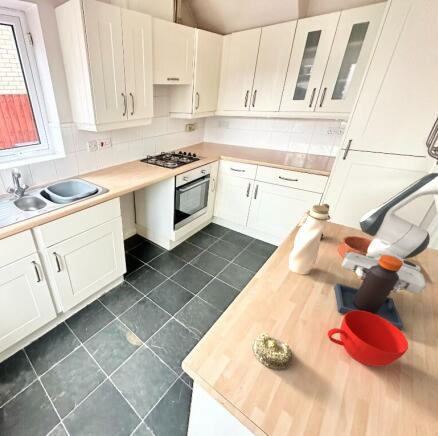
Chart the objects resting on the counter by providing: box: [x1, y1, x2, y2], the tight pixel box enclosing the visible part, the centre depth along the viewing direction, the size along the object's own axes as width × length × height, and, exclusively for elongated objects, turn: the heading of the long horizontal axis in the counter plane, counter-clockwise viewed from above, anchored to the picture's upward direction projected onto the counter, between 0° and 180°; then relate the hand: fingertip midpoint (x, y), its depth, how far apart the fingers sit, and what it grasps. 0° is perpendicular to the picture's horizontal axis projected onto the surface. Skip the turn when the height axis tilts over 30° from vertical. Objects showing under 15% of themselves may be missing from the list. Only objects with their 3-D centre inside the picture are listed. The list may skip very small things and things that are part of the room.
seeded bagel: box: [252, 332, 292, 371], centre depth 68 cm, size 10×10×5 cm
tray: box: [334, 282, 405, 332], centre depth 81 cm, size 16×13×3 cm
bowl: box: [337, 235, 373, 259], centre depth 105 cm, size 14×14×6 cm
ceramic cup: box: [327, 310, 409, 367], centre depth 66 cm, size 13×17×10 cm
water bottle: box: [288, 204, 331, 276], centre depth 94 cm, size 10×9×28 cm
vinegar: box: [353, 255, 403, 314], centre depth 77 cm, size 7×7×20 cm
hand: (378, 283), depth 76 cm, fingers closed on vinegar, 7 cm apart
